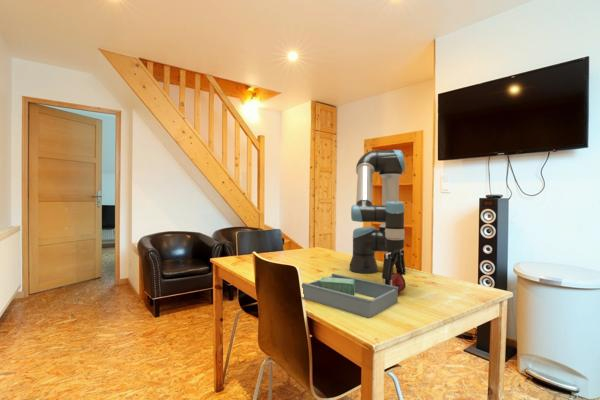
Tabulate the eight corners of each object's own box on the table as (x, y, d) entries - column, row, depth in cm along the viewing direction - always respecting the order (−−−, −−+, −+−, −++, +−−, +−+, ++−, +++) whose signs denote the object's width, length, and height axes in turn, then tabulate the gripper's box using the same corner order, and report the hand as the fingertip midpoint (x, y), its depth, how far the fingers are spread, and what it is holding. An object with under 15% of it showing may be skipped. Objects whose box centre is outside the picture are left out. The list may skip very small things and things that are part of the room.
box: (354, 302, 118) (354, 283, 118) (318, 300, 121) (318, 280, 121) (355, 296, 125) (355, 278, 125) (321, 294, 128) (321, 276, 128)
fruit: (407, 291, 132) (407, 268, 132) (403, 298, 123) (403, 272, 123) (385, 288, 136) (385, 265, 136) (380, 294, 128) (380, 270, 127)
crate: (333, 286, 139) (333, 273, 139) (398, 302, 119) (398, 287, 119) (301, 297, 123) (301, 283, 123) (369, 318, 103) (369, 301, 103)
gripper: (397, 235, 140) (397, 285, 140) (373, 240, 124) (372, 296, 124) (414, 236, 135) (413, 288, 135) (390, 242, 119) (390, 301, 119)
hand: (394, 292), depth 130 cm, fingers closed on fruit, 9 cm apart
